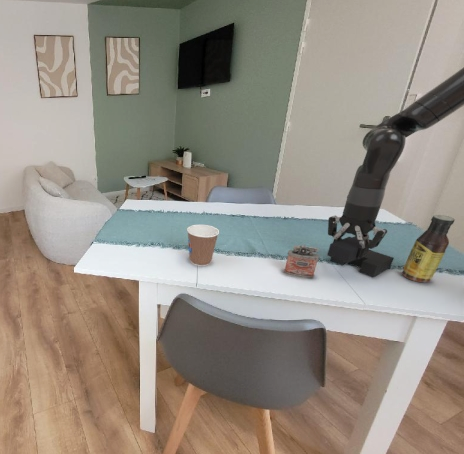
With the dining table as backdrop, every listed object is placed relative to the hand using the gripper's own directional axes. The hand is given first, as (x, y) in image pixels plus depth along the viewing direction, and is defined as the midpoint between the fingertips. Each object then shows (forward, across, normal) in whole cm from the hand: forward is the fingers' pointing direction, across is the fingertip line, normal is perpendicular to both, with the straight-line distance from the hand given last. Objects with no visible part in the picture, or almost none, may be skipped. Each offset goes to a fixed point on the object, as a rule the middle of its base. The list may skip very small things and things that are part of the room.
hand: (346, 253), depth 89 cm
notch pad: (+7, 0, -10) cm, 12 cm away
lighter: (+7, +6, +12) cm, 15 cm away
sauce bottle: (+7, -12, -15) cm, 21 cm away
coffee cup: (+7, +28, +32) cm, 43 cm away
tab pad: (0, 0, -1) cm, 1 cm away
